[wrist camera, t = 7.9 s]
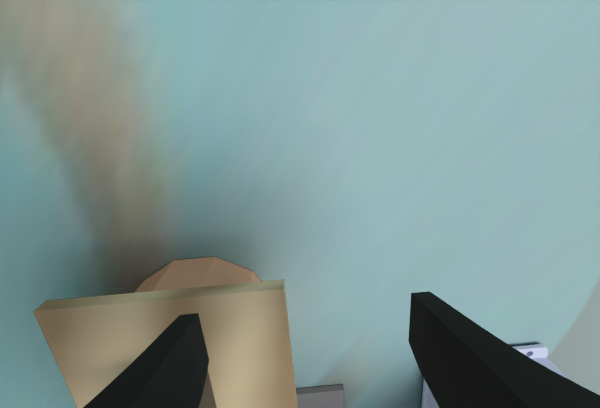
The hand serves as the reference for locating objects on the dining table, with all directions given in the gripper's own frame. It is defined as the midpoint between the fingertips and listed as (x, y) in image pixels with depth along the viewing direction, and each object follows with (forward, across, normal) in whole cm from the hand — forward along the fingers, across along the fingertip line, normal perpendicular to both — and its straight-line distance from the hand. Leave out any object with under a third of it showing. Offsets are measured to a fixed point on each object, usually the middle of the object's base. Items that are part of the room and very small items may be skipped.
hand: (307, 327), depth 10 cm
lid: (+5, +7, +7) cm, 11 cm away
